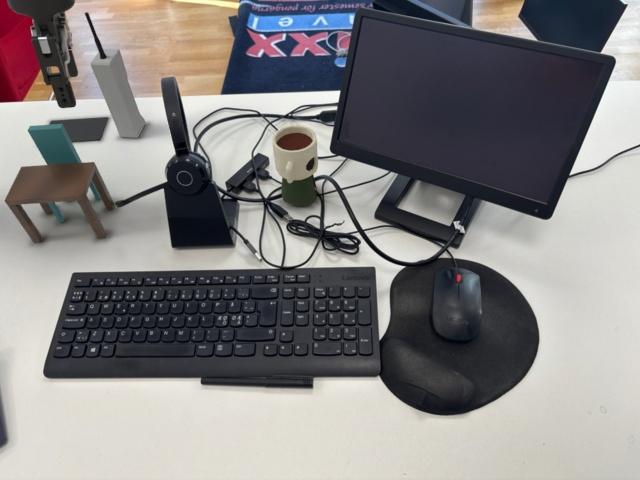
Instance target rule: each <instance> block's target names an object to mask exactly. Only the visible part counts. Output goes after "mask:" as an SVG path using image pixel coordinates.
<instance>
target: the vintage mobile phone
mask: <svg viewBox="0 0 640 480" xmlns="http://www.w3.org/2000/svg"><path fill="white" fill-rule="evenodd" d="M84 16H85V19H86V21H87V24H88V25H89V28H90V31H91V34H92V36H93V40H94V43H95V45H96V48H97V50H98V52H97V53H96V55H95V56H94V57H93V59H92V60H91V62H90V67H91V69H92V73H93V75H94V77H95V79H96V81H97V84H98V86H99V89H100V92H101V93H102V96H103V100H104V101H105V103H106V105H107V108H108V111H109V114H110V116H111V118H112V120H113V122H114V125H115V128H116V130H117V132H118V135H119V137H120V138H127V139H128V138H131V139H138V138H139V136H140V135H141V133H142V131H143V128H144V127H145V126H146V119H145V118H144V117H143V115H142V114H141V113H140V111H139V107H138V104H137V102H136V100H135V96H134V94H133V91H132V87H131V85H130V82H129V78H128V72H127V69H126V66H125V63H124V59H123V56H122V53H121V50H120V48H103V46H102V42H101V39H100V38H99V37H98V35H97V32H96V29H95V26H94V24H93V21H92V19H91V16H90V13H89V12H88V11H87V12H86V11H85V12H84Z"/></svg>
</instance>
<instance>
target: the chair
mask: <svg viewBox="0 0 640 480" xmlns="http://www.w3.org/2000/svg"><path fill="white" fill-rule="evenodd" d="M27 132H28V133H29V136H30V138H31V139H32V141H33V143H34V144H35V146H36V148H37V150H38V151H39V153H40V155H41V157H42V159H43V160H44V162H45V163H46V164H45V165H55V164H70V163H83V161H82V159H81V158H80V156H79V153H78V151H77V149H76V148H75V145H74V143H73V142H71V140H70V138H69V136H68V134H67V132H66V130H65V128H64V126H63V124H52V125H49V124H38V125H36V124H35V125H29V127H28V128H27ZM89 189H90V190H91V192H92V195H93V196H94V198H95V200H102V199H101V197H100V195H99V193H98V191H97V189H96V187H95V185H94V183H93V181H91V183H90V186H89ZM48 205H49V206H50V208H51V210H52V211H53V213H52V214H54V216H55V218H56V220H57V221H58V222H59V223H64V222H65V220H66V219H65V216H64V215H63V213H62V212H61V210H60V208H59V207H58V205H57V202H51V203H48Z"/></svg>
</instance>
